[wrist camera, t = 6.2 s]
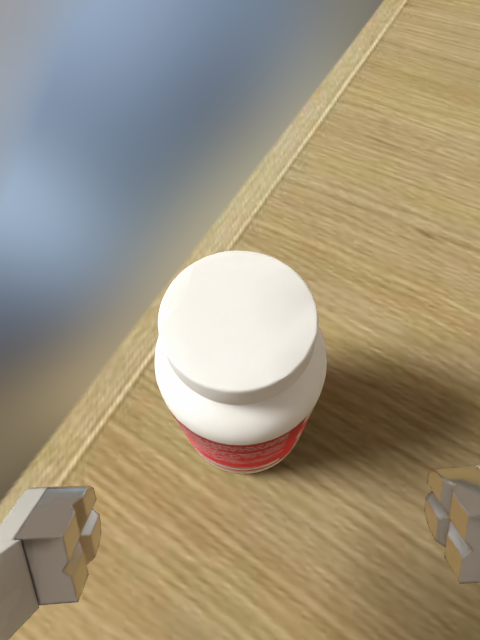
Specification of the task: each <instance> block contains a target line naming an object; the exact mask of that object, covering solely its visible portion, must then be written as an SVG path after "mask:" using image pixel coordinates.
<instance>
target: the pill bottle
mask: <svg viewBox="0 0 480 640" xmlns="http://www.w3.org/2000/svg"><path fill="white" fill-rule="evenodd" d="M158 330H159V337H158V341H157V345H156V351H155V373H156V379H157V383H158V387H159V389H160V392H161V395H162V397H163V399H164V401H165V403H166V405H167V406H168V408H169V410H170V411H171V413H172V414H173V416H174V417H175V419H176V421H177V422H178V423H179V425H180V427H181V428H182V430H183V431H184V433H185V434H186V436H187V437H188V439H189V440H190V442H191V444H192V445H193V447H194V448H195V449H196V451H197V452H198V453H199V454H200V455H201V456H202V457H203V458H204V459H205V460H206V461H208V462H209V463H210V464H212V465H214V466H215V467H217V468H220V469H222V470H225V471H228V472H232V473H238V474H249V473H256V472H260V471H263V470H266V469H268V468H271V467H273V466H274V465H276V464H278V463H279V462H280V461H282V460H283V459H284V458H285V457H286V456H287V455H288V454H289V453H290V452H291V450H292V449H293V448H294V446H295V445H296V443H297V442H298V440H299V438H300V436H301V434H302V432H303V430H304V428H305V426H306V424H307V422H308V420H309V417H310V415H311V413H312V411H313V409H314V407H315V405H316V403H317V401H318V398H319V396H320V394H321V391H322V388H323V385H324V381H325V377H326V368H327V355H326V347H325V342H324V339H323V335H322V333H321V330H320V328H319V326H318V311H317V306H316V303H315V299H314V297H313V295H312V293H311V291H310V289H309V287H308V285H307V284H306V282H305V281H304V280H303V279H302V278H301V276H300V275H299V274H298V273H297V272H296V271H294V270H293V269H292V268H291V267H289V266H288V265H286V264H285V263H283V262H281V261H279V260H277V259H276V258H273V257H271V256H268V255H265V254H261V253H257V252H251V251H226V252H221V253H216V254H213V255H210V256H207V257H204V258H202V259H200V260H198V261H196V262H195V263H193V264H191V265H190V266H189V267H187V268H186V269H185V270H183V271H182V272H181V273H180V274H179V275H178V276H177V277H176V278H175V279H174V281H173V282H172V283H171V285H170V286H169V287H168V289H167V291H166V293H165V295H164V297H163V300H162V302H161V306H160V310H159V315H158Z"/></svg>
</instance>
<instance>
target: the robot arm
mask: <svg viewBox="0 0 480 640" xmlns="http://www.w3.org/2000/svg"><path fill="white" fill-rule="evenodd" d="M427 483H428V485H429V486H430V488H431V490H432V491H431V493H430V494H429V495H428V496H427V497H426V499H425V514H426V520H427V524H428V527H429V529H430V532H431V534H432V536H433V537H434V539H435V541H437V542H438V543H439V544H441V545H442V546H444V547H445V548H446V549H445V559H446V561H447V562H448V564H449V566H450V568H451V569H452V571H453V573H454V575H455V576H456V578H457V580H458V582H459V583H460V584H462V583H480V465H474V466H468V467H450V468H433V469H430V471H429V473H428V480H427ZM95 502H96V496H95V491H94V488H93V487H91V486H61V487H37V488H29V489H27V490H25V491H24V492H23V494H22V495H21V496H20V498H19V499H18V501H17V502H16V504H15V505H14V506H13V508H12V509H11V511H10V512H9V514H8V515H7V517H6V518H5V519H4V521H3V522H2V524H1V525H0V640H9V639H10V637H11V636H12V635H13V634H14V633H15V632H16V631H17V630H18V629H19V628H20V627H21V626H22V625H23V624H24V623H25V622H26V621H27V620H28V619H29V618H30V617H31V616H32V614H33V613H34V612H35V611H36V610H37V609H38V608H39V605H48V604H61V603H73V602H78V601H79V598H80V596H81V593H82V591H83V588H84V585H85V583H86V580H87V577H88V575H89V574H88V569H87V564H88V563H89V562H91V561H92V560H93V559H94V558H95V556H96V553H97V551H98V548H99V543H100V537H101V521H100V515H99V514H98V513H97V512H96V511H95V510H94V509H93V506H94V504H95Z"/></svg>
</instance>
